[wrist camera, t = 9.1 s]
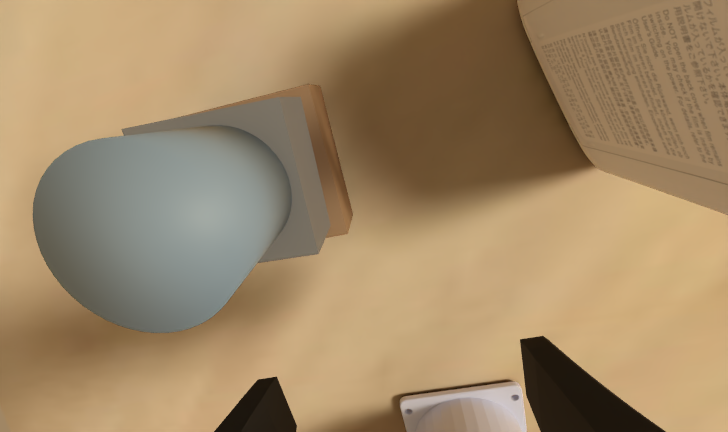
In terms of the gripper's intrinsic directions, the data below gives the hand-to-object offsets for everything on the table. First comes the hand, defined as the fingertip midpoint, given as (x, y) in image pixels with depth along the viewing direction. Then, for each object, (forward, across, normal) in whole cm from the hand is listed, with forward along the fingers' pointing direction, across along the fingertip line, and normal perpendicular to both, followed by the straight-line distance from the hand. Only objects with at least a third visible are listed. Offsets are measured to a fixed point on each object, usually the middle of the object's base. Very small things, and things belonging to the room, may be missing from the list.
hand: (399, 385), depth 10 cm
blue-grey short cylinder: (+4, +5, -6) cm, 9 cm away
